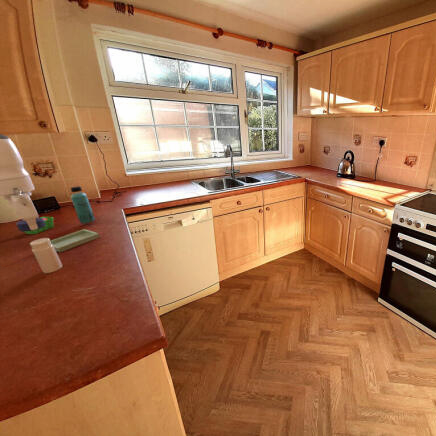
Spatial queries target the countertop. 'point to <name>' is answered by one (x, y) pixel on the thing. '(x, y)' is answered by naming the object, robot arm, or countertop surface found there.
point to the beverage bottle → (82, 206)
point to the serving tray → (73, 240)
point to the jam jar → (46, 255)
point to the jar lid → (24, 226)
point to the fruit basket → (48, 225)
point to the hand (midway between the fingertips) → (32, 226)
